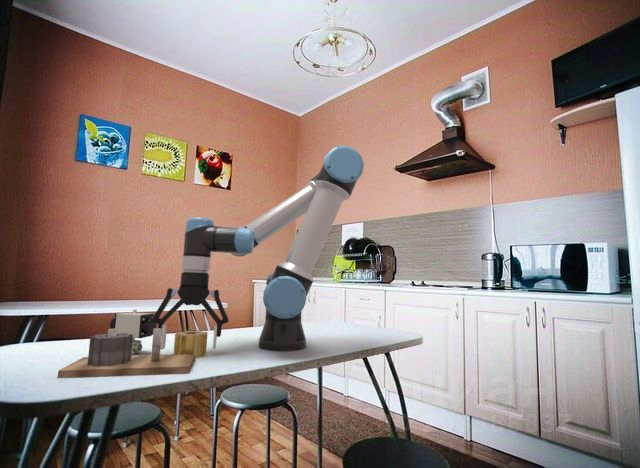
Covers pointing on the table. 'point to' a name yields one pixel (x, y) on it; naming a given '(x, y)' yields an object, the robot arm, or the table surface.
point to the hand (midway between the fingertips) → (188, 348)
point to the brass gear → (190, 343)
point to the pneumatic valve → (134, 326)
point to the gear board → (125, 358)
